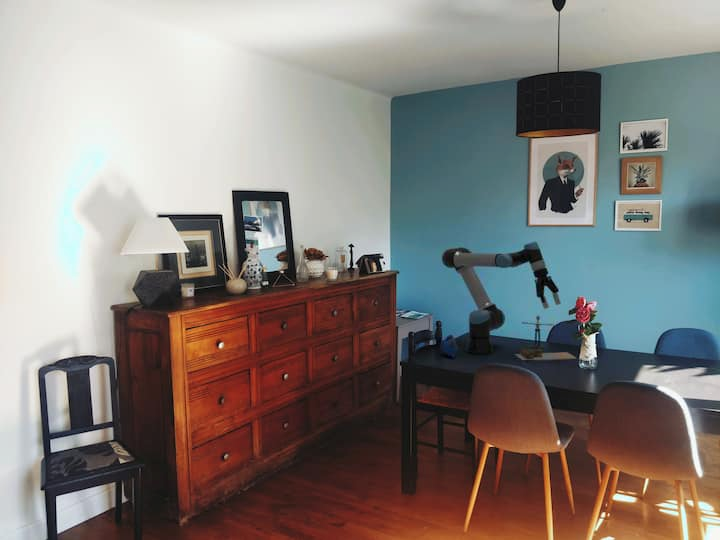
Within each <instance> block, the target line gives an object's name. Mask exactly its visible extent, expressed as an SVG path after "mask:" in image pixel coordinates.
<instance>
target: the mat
mask: <svg viewBox="0 0 720 540" xmlns="http://www.w3.org/2000/svg"><path fill="white" fill-rule="evenodd" d="M515 355H516V356H517V357H518V359H519V358H520V359H521V360H537V361H555V360H556V361H557V360H559V361H561V360H577V357H575V356H574V355H573V354H571V353H569V352H568V351H566V352H542V357H534V359H526V358H525V357H524V356H522V355H521V353H516V354H514V356H515ZM516 356H515V357H516ZM517 357H516V358H517ZM520 359H519V360H520ZM521 360H520V361H521Z"/></svg>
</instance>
